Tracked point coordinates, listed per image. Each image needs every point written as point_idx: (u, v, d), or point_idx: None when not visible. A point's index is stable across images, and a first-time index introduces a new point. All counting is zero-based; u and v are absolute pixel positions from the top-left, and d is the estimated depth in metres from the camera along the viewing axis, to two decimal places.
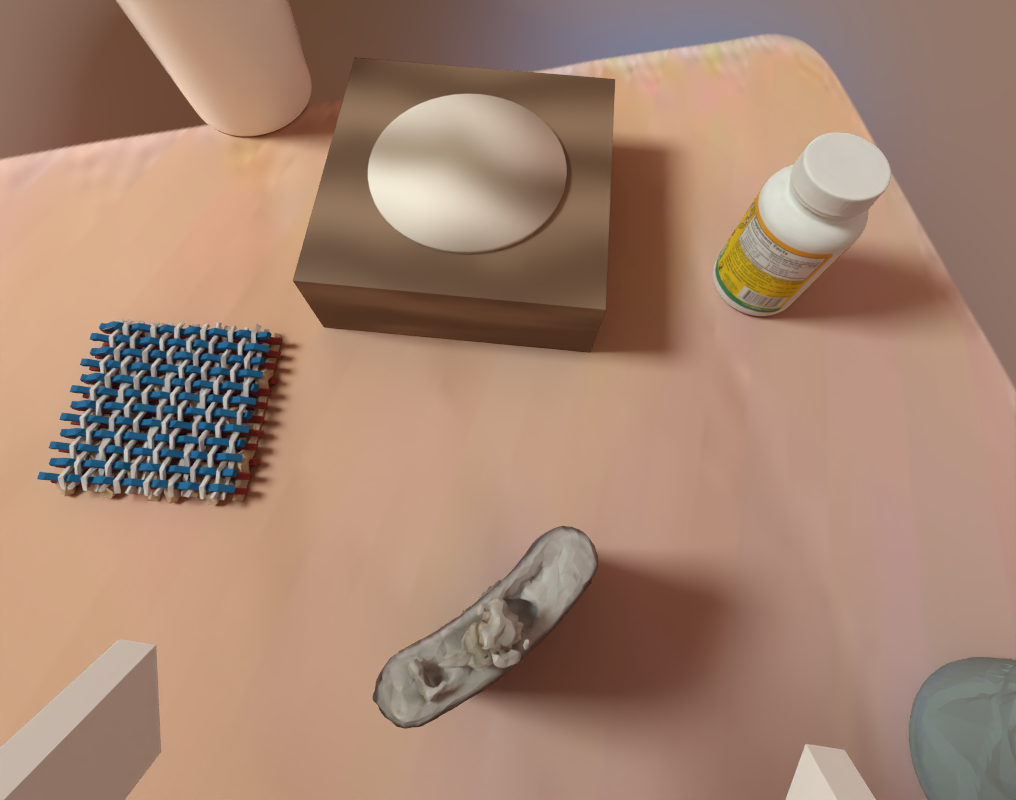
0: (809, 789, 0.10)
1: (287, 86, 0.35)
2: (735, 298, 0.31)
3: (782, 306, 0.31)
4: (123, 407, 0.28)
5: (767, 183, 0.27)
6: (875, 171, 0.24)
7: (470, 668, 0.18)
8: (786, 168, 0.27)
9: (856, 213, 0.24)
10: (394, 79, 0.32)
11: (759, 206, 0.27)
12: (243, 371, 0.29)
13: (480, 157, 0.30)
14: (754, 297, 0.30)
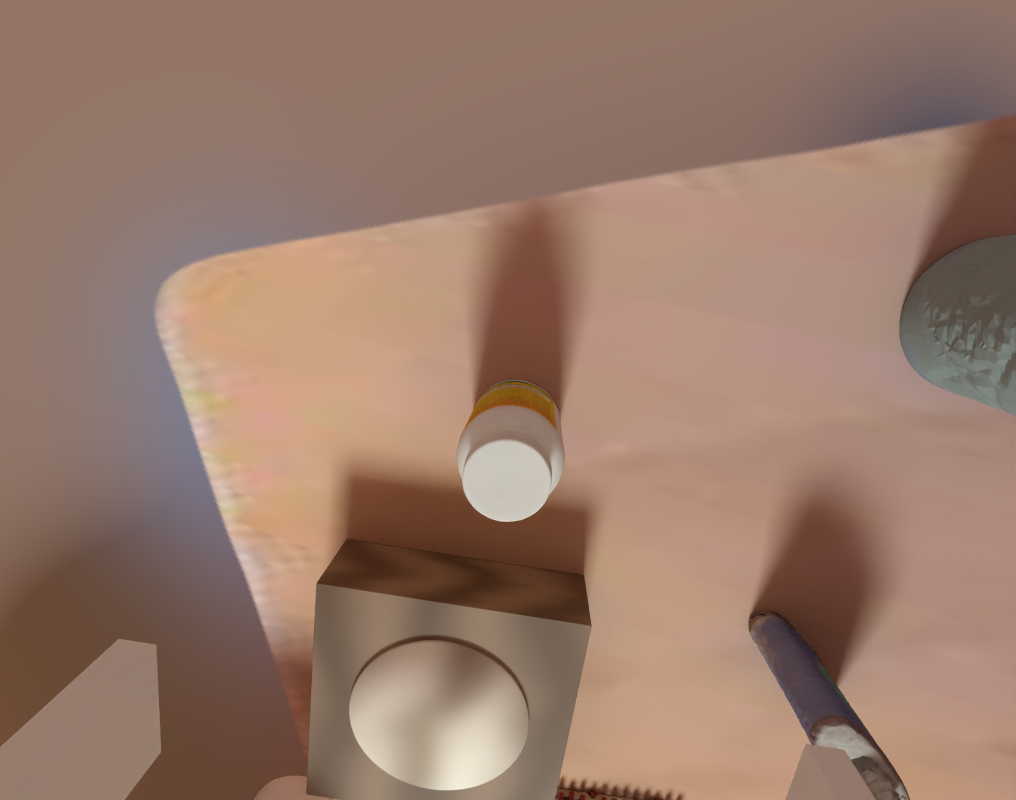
0: (809, 789, 0.10)
1: None
2: None
3: (559, 417, 0.31)
4: None
5: None
6: (515, 456, 0.23)
7: None
8: None
9: (550, 464, 0.24)
10: (330, 765, 0.34)
11: None
12: None
13: (426, 709, 0.32)
14: None
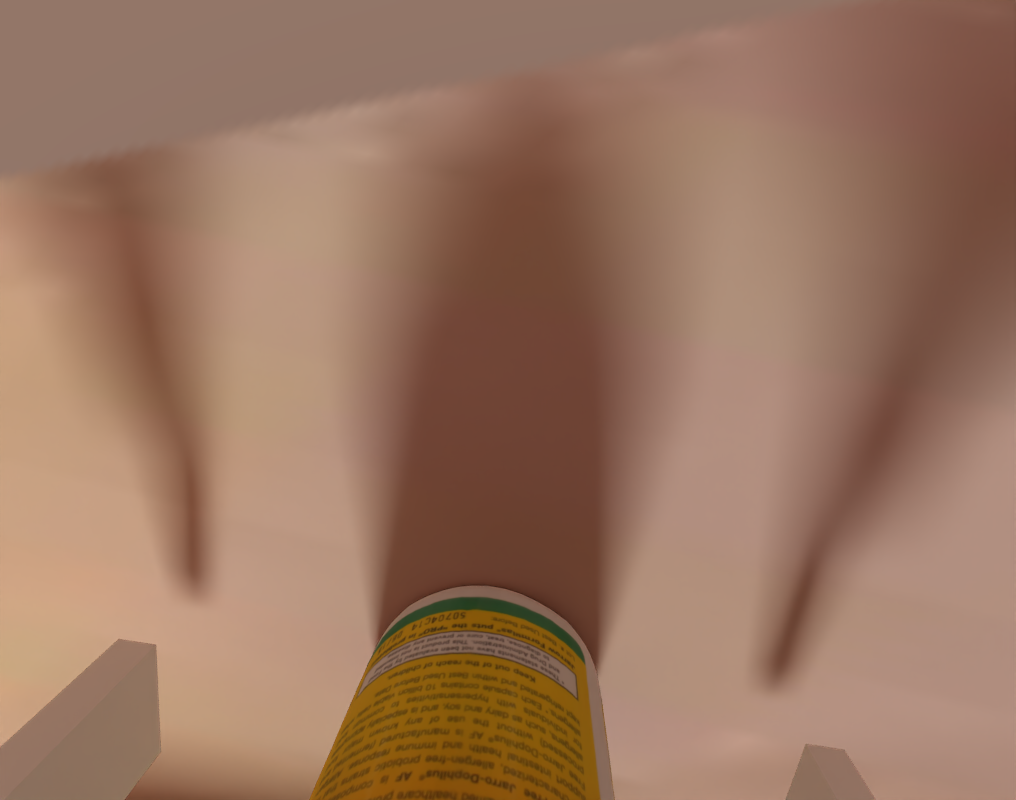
0: (809, 789, 0.10)
1: None
2: None
3: (601, 703, 0.11)
4: None
5: None
6: None
7: None
8: None
9: None
10: None
11: None
12: None
13: None
14: None
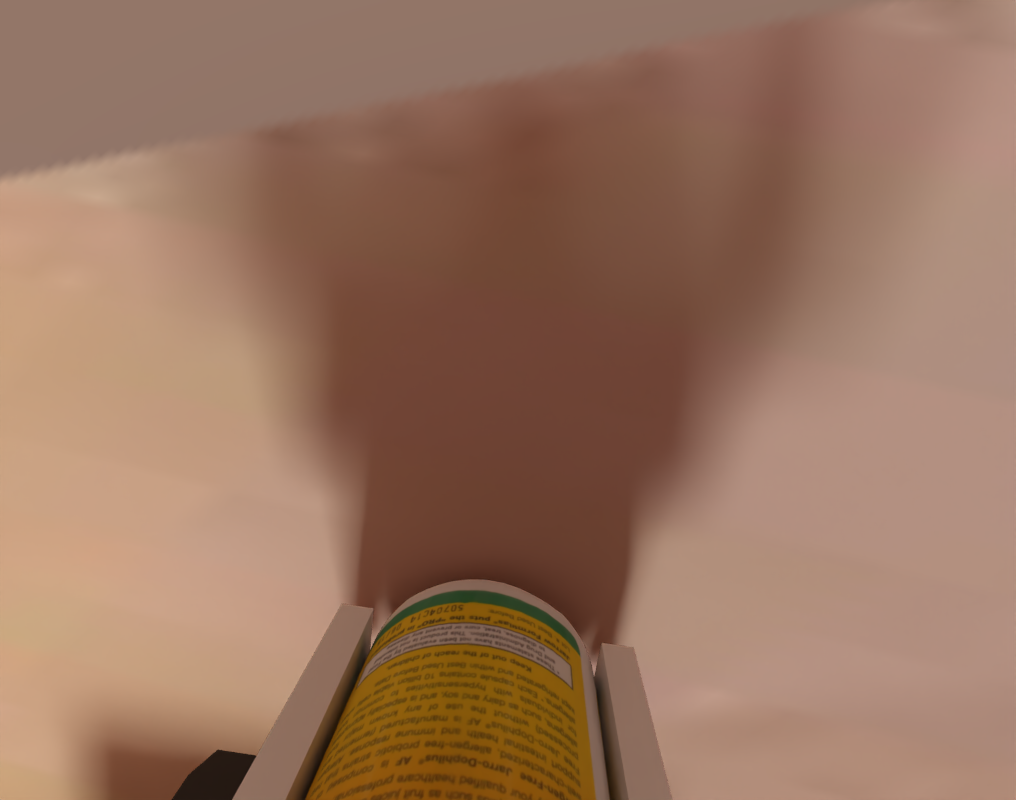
0: (599, 678, 0.12)
1: None
2: None
3: (595, 694, 0.11)
4: None
5: None
6: None
7: None
8: None
9: None
10: None
11: None
12: None
13: None
14: None
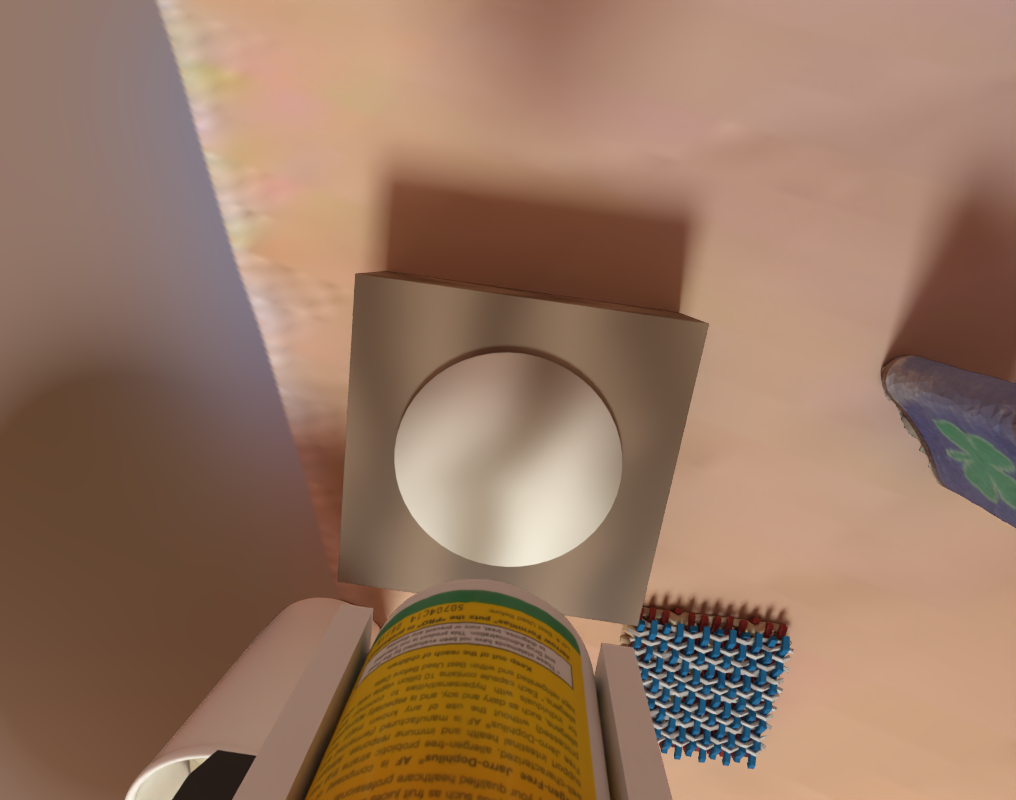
0: (599, 678, 0.12)
1: None
2: None
3: (596, 693, 0.11)
4: (699, 721, 0.34)
5: None
6: None
7: None
8: None
9: None
10: (369, 539, 0.27)
11: None
12: (678, 639, 0.32)
13: (493, 451, 0.25)
14: None
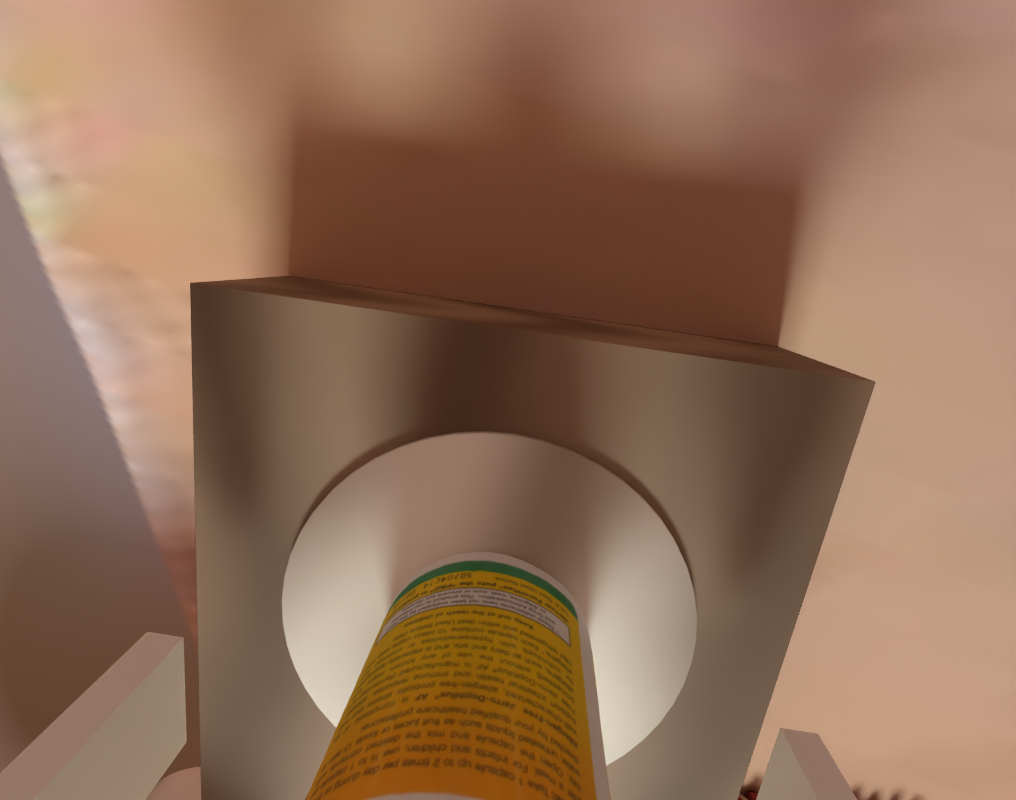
0: (783, 772, 0.10)
1: None
2: None
3: (591, 655, 0.12)
4: None
5: None
6: None
7: None
8: None
9: None
10: (249, 740, 0.16)
11: None
12: None
13: None
14: None
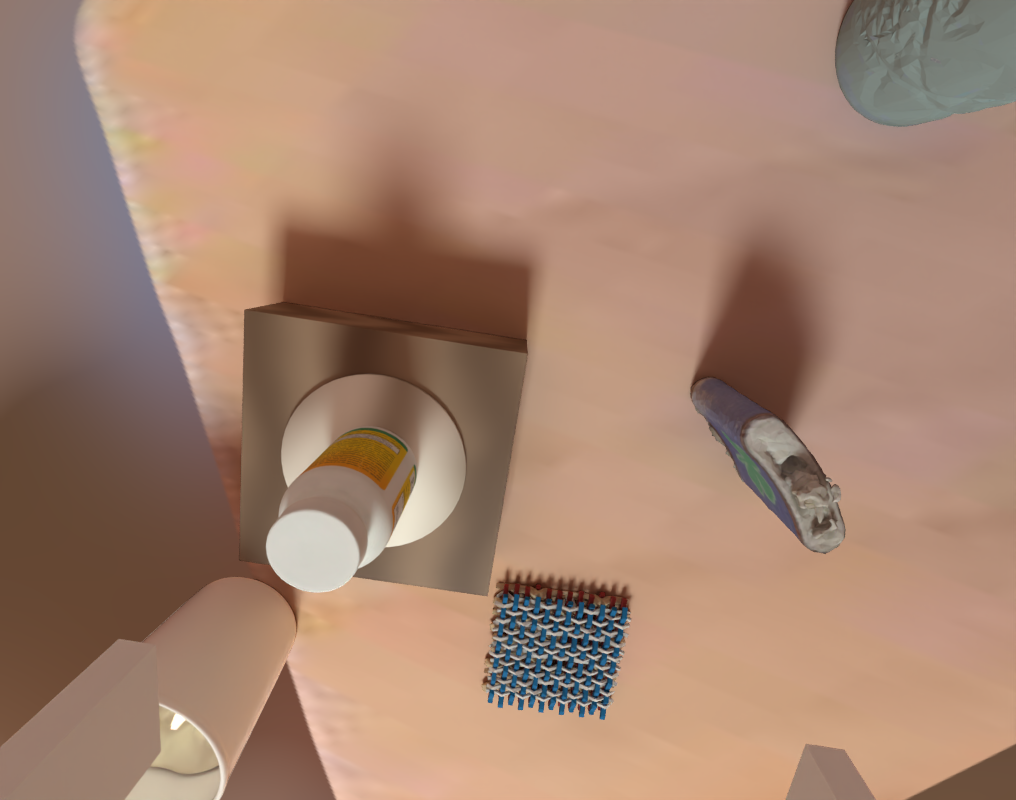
0: (809, 789, 0.10)
1: (254, 604, 0.37)
2: None
3: (412, 466, 0.30)
4: (557, 680, 0.40)
5: None
6: (320, 527, 0.22)
7: None
8: None
9: (364, 532, 0.23)
10: (264, 525, 0.33)
11: None
12: (536, 610, 0.38)
13: None
14: None
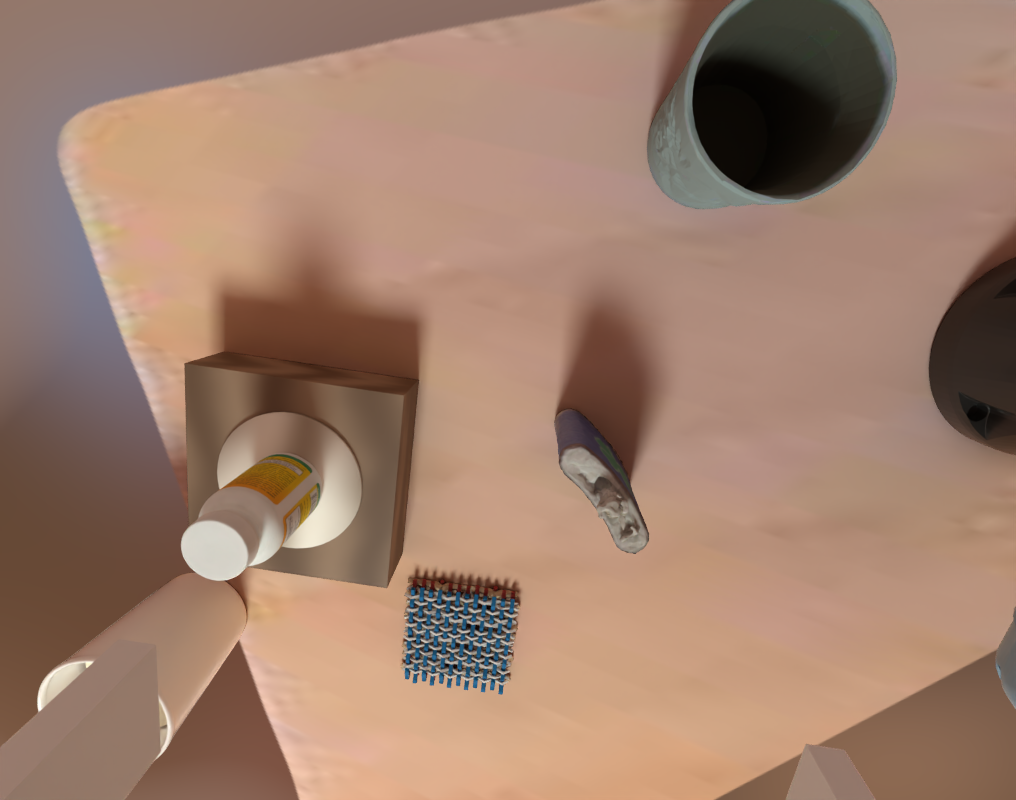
0: (809, 789, 0.10)
1: (208, 594, 0.46)
2: (309, 515, 0.39)
3: (315, 484, 0.38)
4: (461, 660, 0.48)
5: None
6: (218, 532, 0.30)
7: None
8: None
9: (254, 536, 0.31)
10: None
11: None
12: (438, 601, 0.46)
13: None
14: (310, 513, 0.38)
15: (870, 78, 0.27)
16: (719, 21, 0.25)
